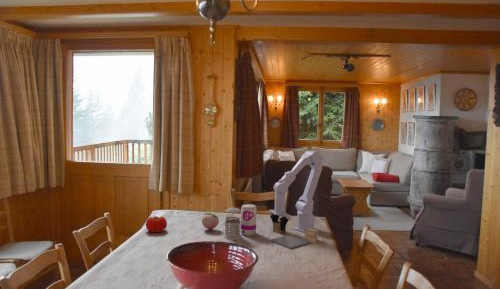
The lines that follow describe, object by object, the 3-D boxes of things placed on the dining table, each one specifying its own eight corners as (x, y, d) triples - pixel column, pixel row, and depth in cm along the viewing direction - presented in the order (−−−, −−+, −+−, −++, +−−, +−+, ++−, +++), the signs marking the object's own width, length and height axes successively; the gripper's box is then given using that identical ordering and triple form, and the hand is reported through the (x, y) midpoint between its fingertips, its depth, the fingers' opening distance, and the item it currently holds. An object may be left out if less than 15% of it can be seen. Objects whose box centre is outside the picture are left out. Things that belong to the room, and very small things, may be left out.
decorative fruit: (198, 231, 200) (198, 212, 200) (205, 227, 208) (206, 209, 207) (213, 233, 197) (214, 214, 196) (220, 229, 205) (221, 211, 204)
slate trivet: (289, 236, 195) (289, 234, 195) (310, 243, 185) (310, 241, 185) (270, 241, 186) (270, 239, 186) (290, 249, 176) (290, 247, 176)
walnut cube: (279, 229, 206) (279, 220, 206) (285, 232, 203) (286, 223, 202) (272, 231, 203) (272, 222, 203) (279, 233, 199) (279, 224, 199)
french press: (245, 235, 194) (246, 188, 192) (235, 242, 184) (236, 191, 182) (228, 233, 198) (229, 186, 197) (217, 239, 188) (218, 189, 186)
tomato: (169, 228, 203) (169, 215, 203) (162, 234, 193) (162, 220, 192) (150, 227, 205) (150, 214, 204) (142, 233, 194) (142, 219, 193)
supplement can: (254, 236, 193) (255, 208, 192) (238, 235, 195) (239, 206, 194) (257, 232, 201) (258, 204, 200) (242, 230, 203) (243, 203, 202)
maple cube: (308, 238, 193) (308, 228, 193) (317, 240, 190) (317, 230, 190) (304, 240, 189) (304, 231, 188) (314, 242, 186) (314, 232, 186)
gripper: (265, 202, 205) (264, 227, 206) (284, 207, 194) (283, 233, 195) (274, 201, 209) (274, 225, 210) (293, 206, 198) (292, 231, 199)
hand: (279, 229), depth 203 cm, fingers closed on walnut cube, 5 cm apart
